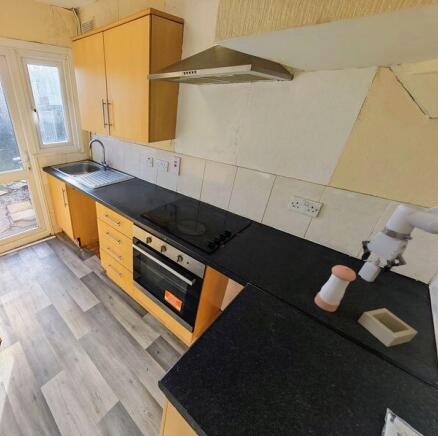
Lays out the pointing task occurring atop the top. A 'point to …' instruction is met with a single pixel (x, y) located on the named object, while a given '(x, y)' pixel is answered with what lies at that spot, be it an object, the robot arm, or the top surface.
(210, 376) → the top surface
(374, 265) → the eye dropper bottle
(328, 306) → the salt shaker
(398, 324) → the socket block
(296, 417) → the top surface
